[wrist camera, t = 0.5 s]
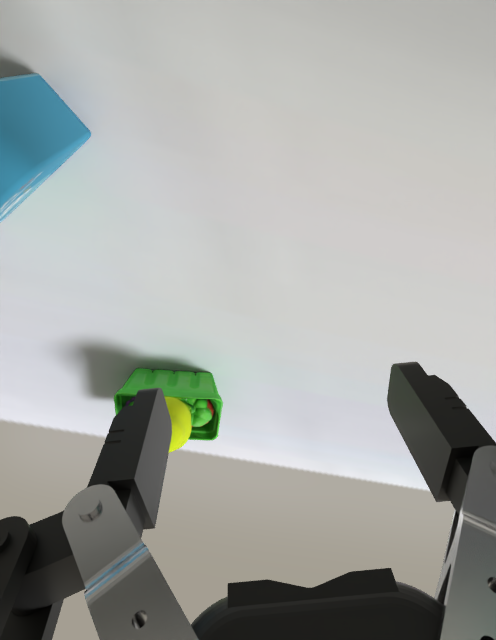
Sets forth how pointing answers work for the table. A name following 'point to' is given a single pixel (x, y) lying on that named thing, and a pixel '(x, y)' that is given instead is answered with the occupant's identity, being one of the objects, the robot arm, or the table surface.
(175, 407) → the fruit basket
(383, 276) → the table surface
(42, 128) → the blue rounded block
